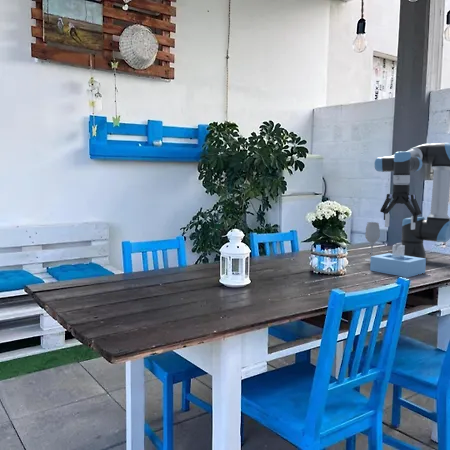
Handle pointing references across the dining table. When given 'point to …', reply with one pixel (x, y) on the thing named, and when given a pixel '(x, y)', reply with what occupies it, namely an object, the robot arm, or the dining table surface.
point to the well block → (398, 265)
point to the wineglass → (372, 235)
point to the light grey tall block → (398, 251)
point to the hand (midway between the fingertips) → (399, 228)
